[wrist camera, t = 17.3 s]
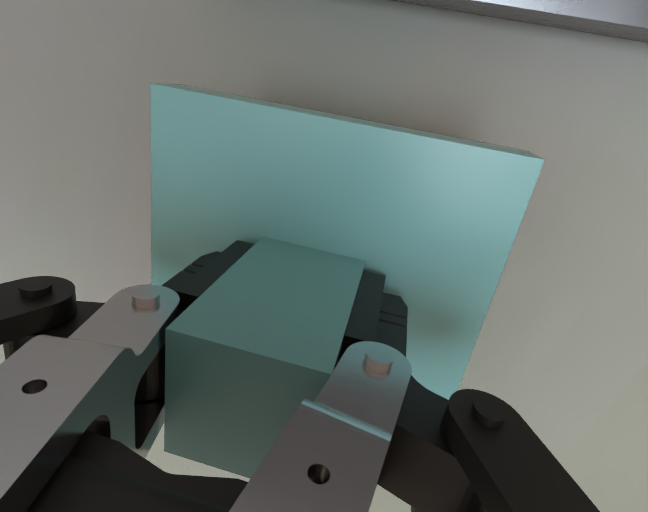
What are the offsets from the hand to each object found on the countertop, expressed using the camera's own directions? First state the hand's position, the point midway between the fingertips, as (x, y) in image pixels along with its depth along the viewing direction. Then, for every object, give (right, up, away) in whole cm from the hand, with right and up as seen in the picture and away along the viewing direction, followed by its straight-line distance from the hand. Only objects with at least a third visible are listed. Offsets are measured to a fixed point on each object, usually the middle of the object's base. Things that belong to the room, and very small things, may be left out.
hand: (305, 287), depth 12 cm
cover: (0, 0, +2) cm, 2 cm away
